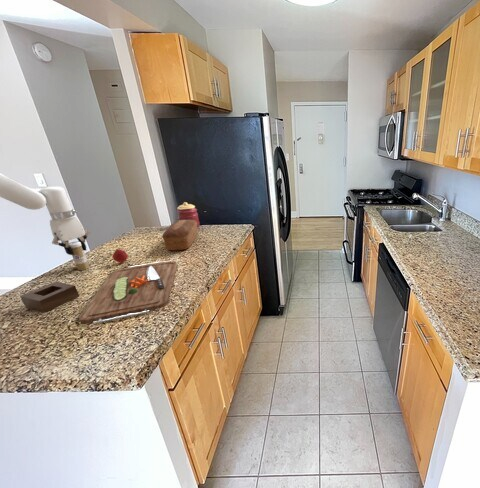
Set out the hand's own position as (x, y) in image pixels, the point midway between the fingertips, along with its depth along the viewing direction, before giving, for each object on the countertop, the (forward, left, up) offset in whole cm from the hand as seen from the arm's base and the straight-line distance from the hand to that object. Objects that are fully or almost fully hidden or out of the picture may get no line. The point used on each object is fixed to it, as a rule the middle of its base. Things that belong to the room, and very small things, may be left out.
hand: (77, 251), depth 123 cm
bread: (+21, +41, -9) cm, 47 cm away
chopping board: (+42, -6, -9) cm, 43 cm away
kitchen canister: (+1, +68, -9) cm, 69 cm away
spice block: (+20, -23, -9) cm, 32 cm away
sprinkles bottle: (0, 0, -9) cm, 9 cm away
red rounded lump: (+12, +10, -9) cm, 18 cm away
